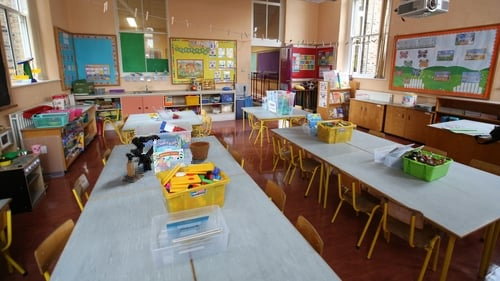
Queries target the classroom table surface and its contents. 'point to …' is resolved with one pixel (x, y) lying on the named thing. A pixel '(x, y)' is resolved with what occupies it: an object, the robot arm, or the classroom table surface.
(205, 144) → the flower pot
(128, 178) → the keeper
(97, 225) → the classroom table surface
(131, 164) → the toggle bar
